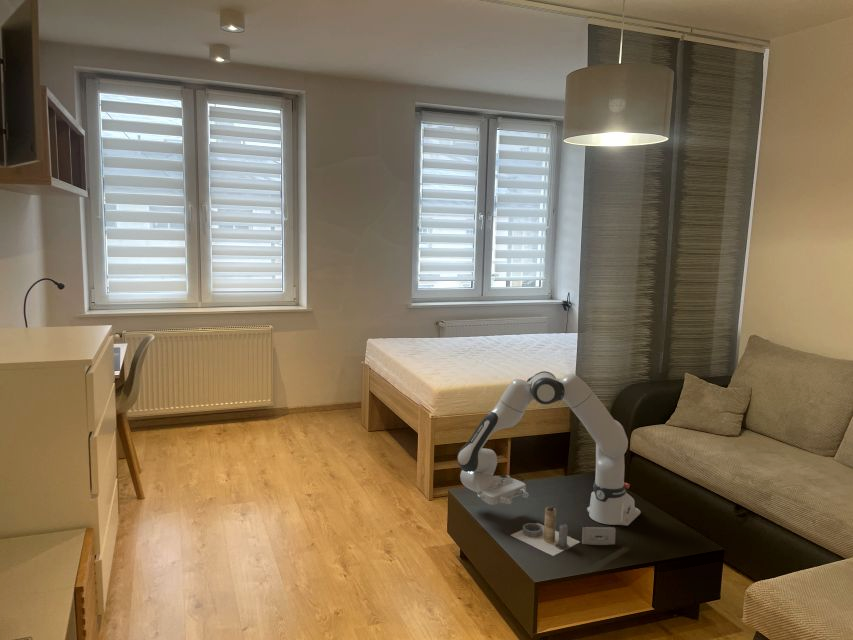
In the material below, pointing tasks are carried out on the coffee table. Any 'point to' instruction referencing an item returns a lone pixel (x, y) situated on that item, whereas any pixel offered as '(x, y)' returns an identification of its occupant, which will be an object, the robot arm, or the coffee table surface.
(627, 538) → the coffee table surface
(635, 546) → the coffee table surface
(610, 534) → the cassette
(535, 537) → the plate
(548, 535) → the wooden leg
